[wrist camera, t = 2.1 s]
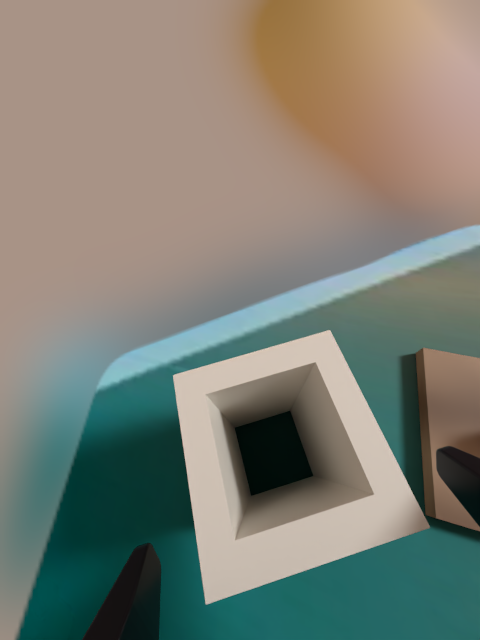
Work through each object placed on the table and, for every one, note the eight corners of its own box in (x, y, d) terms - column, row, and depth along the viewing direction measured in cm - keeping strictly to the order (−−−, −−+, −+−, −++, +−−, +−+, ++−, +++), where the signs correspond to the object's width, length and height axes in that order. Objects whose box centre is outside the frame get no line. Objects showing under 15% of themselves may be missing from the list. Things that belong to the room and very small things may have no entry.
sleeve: (335, 489, 15) (430, 527, 7) (239, 521, 15) (206, 604, 6) (298, 392, 18) (329, 330, 10) (217, 417, 18) (172, 375, 9)
